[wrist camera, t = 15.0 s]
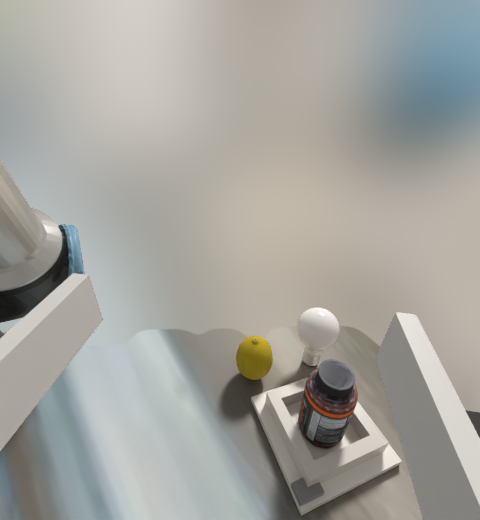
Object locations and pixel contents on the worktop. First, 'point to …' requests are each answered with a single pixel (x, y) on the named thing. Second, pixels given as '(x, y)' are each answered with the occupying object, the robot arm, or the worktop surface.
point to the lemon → (254, 357)
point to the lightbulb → (317, 333)
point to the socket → (321, 449)
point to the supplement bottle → (327, 404)
